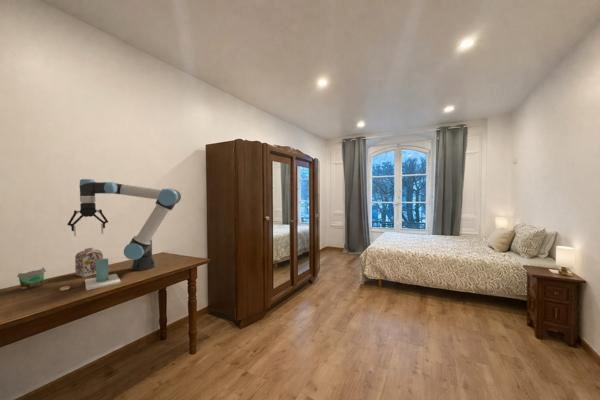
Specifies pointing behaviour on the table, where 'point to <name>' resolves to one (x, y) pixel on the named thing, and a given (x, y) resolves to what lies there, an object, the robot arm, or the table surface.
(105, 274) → the teal canister
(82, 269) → the decorative jar
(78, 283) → the table surface
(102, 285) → the pale board
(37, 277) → the food container
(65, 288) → the beige mottled disc
